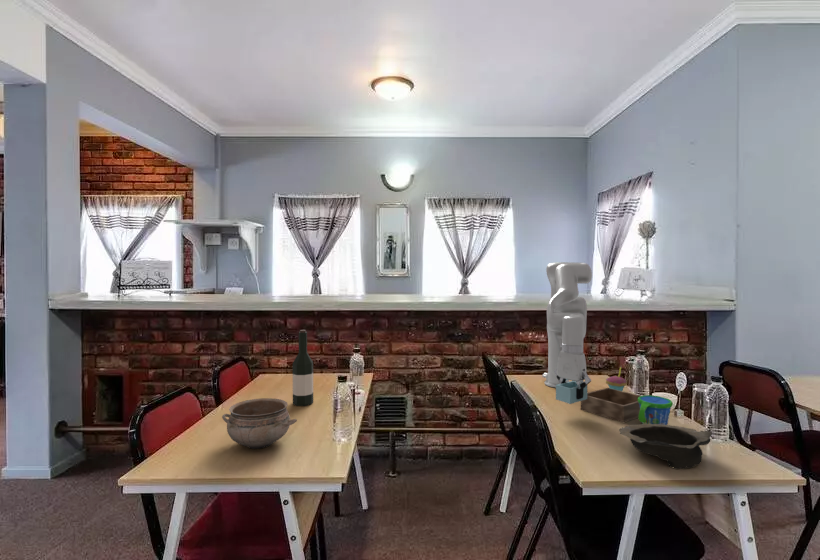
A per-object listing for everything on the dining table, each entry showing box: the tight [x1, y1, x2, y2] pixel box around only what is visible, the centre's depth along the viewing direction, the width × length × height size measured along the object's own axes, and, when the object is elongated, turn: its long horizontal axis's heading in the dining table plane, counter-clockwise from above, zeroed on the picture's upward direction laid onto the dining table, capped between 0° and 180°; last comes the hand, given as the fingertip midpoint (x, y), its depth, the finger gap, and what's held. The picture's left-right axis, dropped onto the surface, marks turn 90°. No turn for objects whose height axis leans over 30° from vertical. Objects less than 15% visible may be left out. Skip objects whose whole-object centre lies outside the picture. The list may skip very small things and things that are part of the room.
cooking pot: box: [221, 397, 298, 450], centre depth 144 cm, size 25×19×12 cm
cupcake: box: [605, 366, 627, 392], centre depth 206 cm, size 9×8×12 cm
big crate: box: [580, 387, 640, 423], centre depth 178 cm, size 18×18×6 cm
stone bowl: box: [618, 423, 713, 469], centre depth 137 cm, size 25×25×9 cm
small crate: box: [555, 380, 589, 405], centre depth 172 cm, size 6×10×6 cm, turn 124°
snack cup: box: [637, 395, 674, 425], centre depth 160 cm, size 16×10×10 cm
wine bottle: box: [292, 329, 314, 407], centre depth 187 cm, size 8×8×30 cm
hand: (571, 395), depth 172 cm, fingers closed on small crate, 6 cm apart
